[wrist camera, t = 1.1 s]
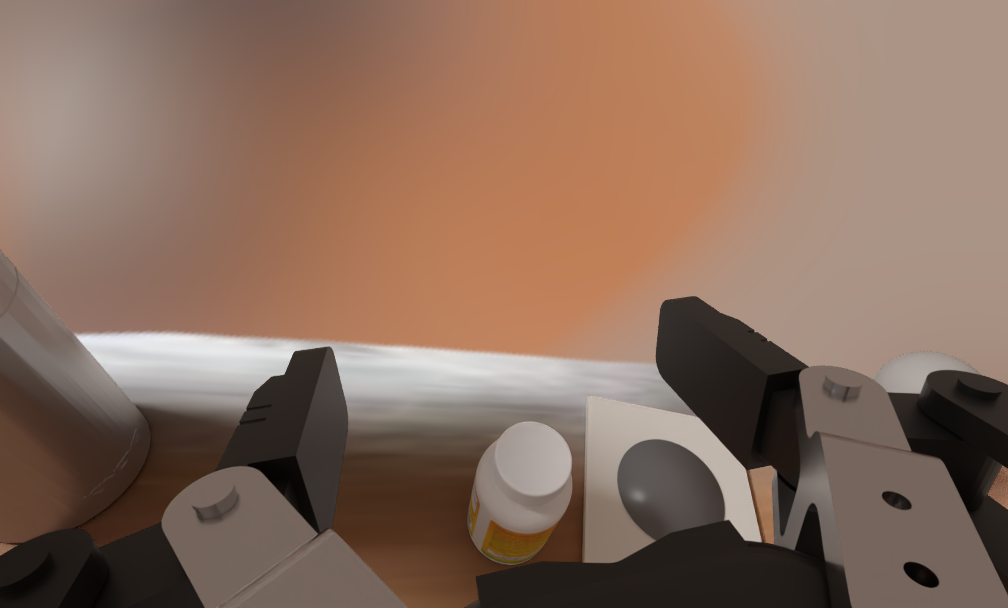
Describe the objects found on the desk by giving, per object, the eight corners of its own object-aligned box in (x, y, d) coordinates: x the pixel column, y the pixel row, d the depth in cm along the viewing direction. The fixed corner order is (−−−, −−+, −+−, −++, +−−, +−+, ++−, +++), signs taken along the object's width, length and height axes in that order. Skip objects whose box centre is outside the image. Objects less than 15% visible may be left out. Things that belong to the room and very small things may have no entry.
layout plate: (581, 578, 29) (584, 575, 28) (586, 399, 38) (588, 394, 37) (772, 617, 29) (778, 615, 28) (731, 428, 38) (736, 424, 37)
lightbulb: (902, 494, 36) (1042, 424, 28) (822, 472, 36) (938, 397, 28) (876, 424, 40) (991, 346, 32) (805, 405, 40) (901, 323, 32)
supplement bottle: (564, 531, 30) (608, 469, 23) (500, 586, 28) (528, 536, 21) (513, 465, 33) (539, 391, 26) (450, 510, 30) (459, 442, 23)
